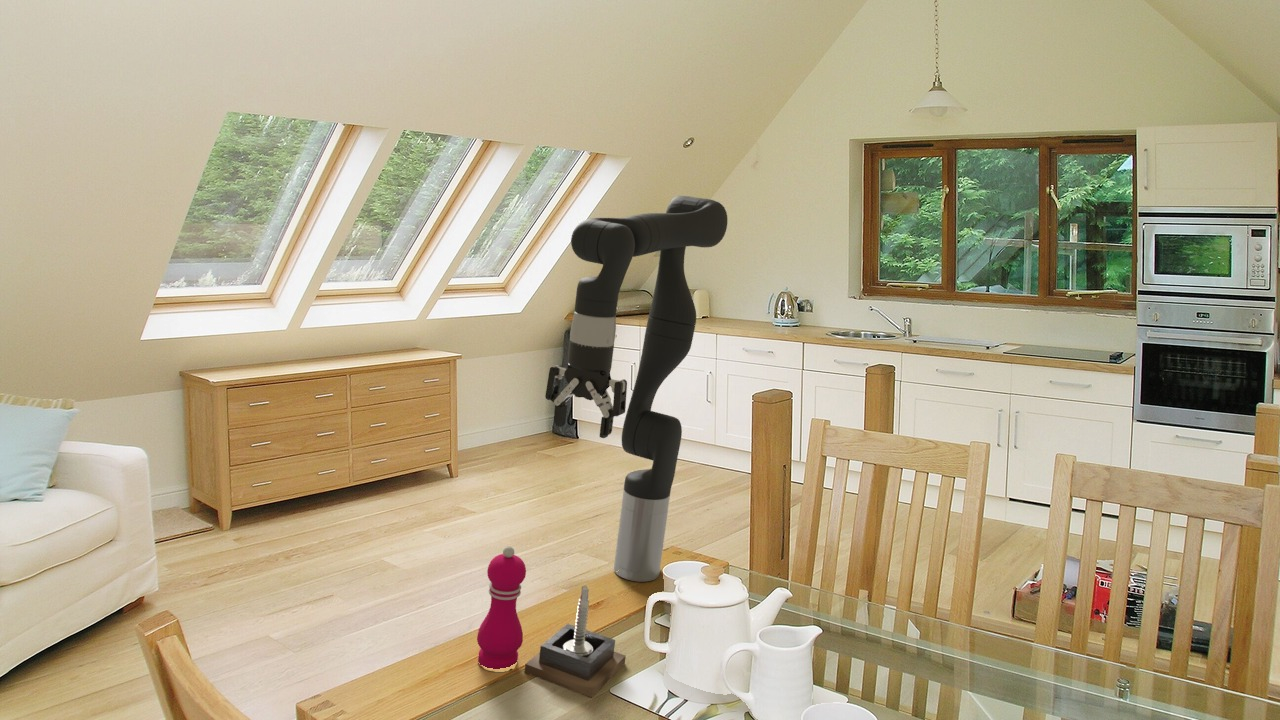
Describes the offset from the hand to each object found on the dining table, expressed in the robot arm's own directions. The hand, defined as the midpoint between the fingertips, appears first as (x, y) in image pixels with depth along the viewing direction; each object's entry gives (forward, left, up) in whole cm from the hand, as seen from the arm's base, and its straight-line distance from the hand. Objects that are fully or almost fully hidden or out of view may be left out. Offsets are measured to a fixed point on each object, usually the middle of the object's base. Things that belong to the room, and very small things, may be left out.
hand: (581, 431), depth 166 cm
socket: (+15, +11, -33) cm, 38 cm away
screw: (+15, +11, -33) cm, 38 cm away
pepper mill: (+21, 0, -34) cm, 40 cm away
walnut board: (+15, +11, -34) cm, 39 cm away
